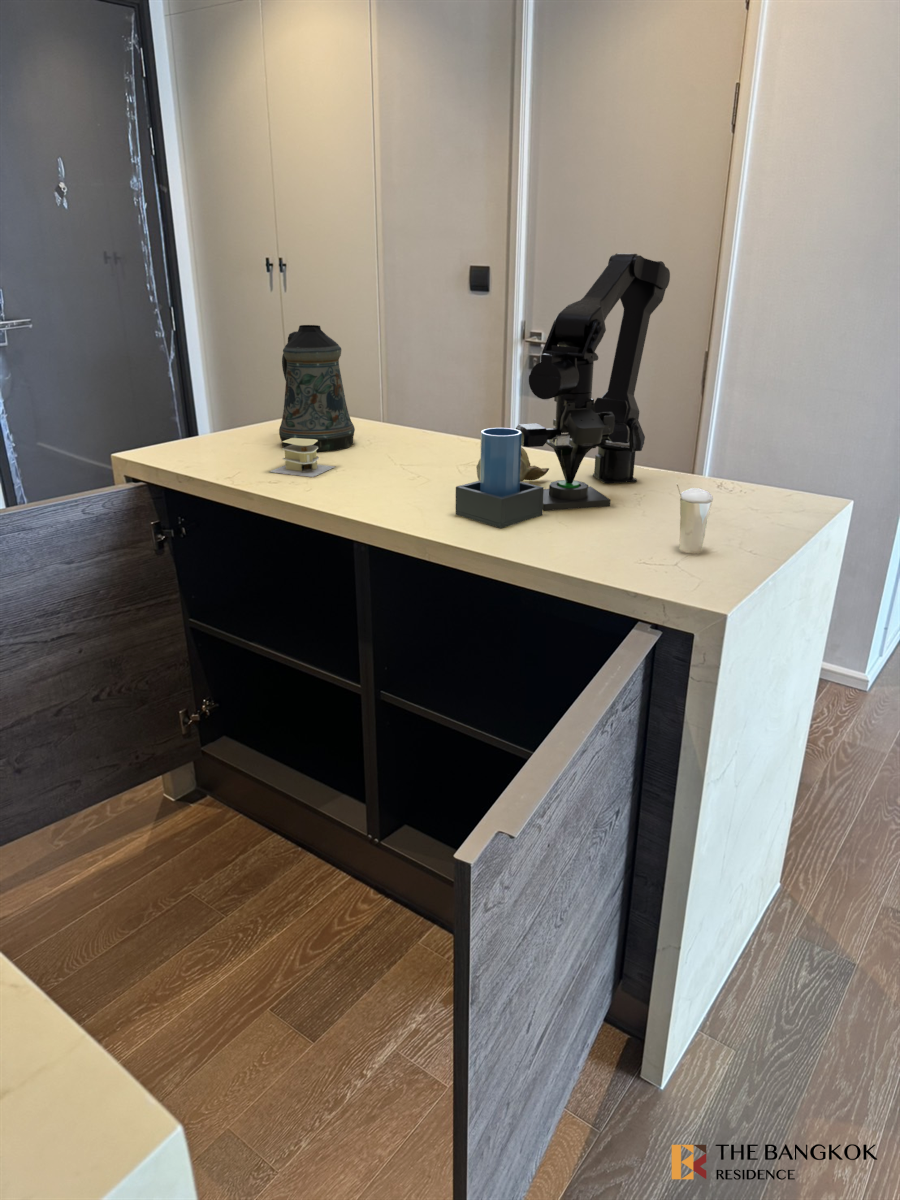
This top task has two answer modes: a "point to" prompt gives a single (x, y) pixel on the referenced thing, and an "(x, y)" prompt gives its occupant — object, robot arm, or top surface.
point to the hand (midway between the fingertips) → (569, 482)
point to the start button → (568, 484)
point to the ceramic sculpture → (524, 469)
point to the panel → (572, 497)
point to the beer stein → (314, 391)
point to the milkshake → (693, 518)
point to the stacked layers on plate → (301, 458)
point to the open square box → (499, 504)
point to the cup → (500, 461)
